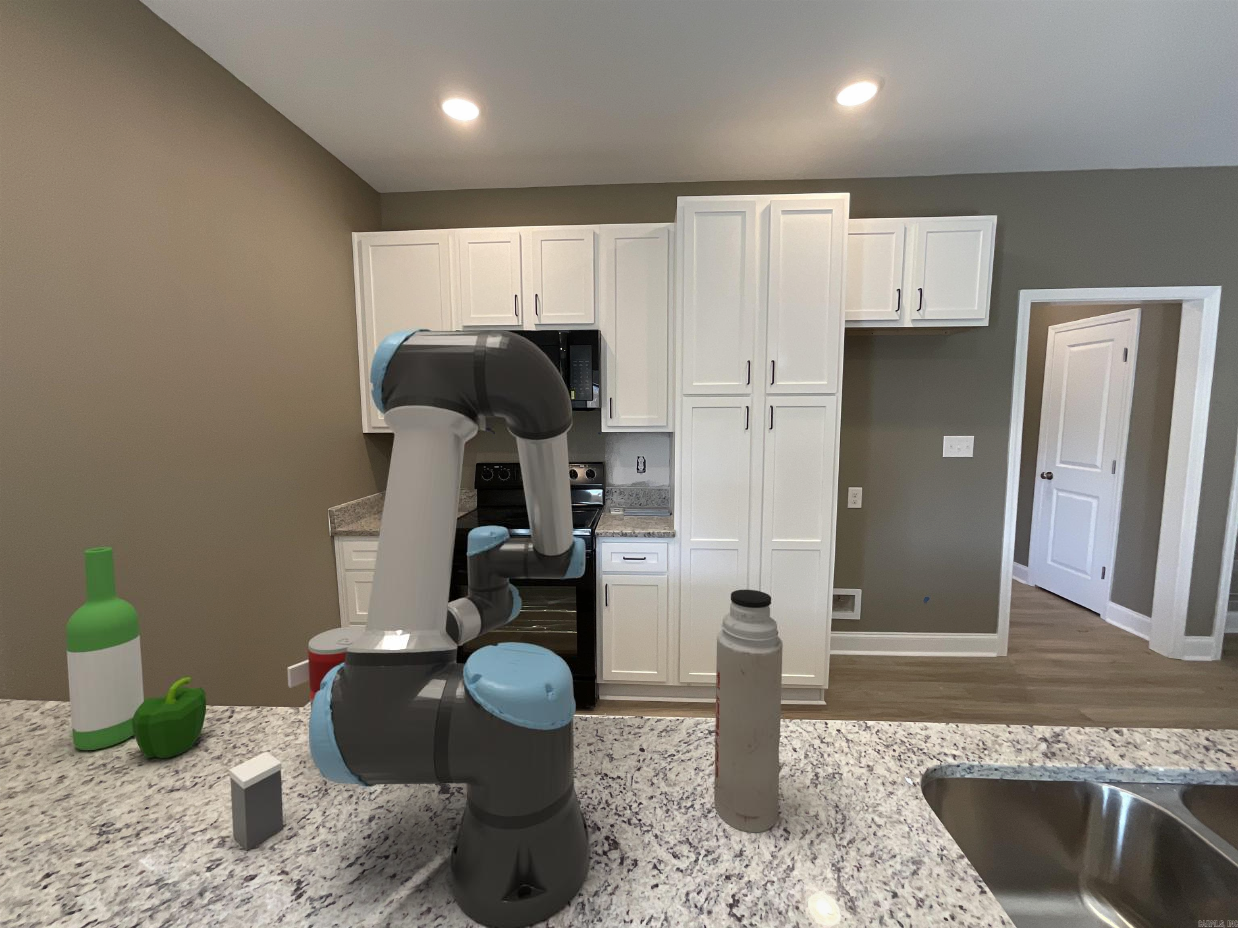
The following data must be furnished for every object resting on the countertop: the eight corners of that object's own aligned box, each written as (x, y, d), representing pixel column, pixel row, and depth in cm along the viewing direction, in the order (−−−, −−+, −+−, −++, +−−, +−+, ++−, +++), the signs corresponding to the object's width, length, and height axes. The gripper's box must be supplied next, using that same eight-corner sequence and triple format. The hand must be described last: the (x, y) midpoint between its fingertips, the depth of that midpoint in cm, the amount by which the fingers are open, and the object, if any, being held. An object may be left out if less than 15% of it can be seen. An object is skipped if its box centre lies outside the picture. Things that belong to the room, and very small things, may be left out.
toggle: (284, 828, 56) (281, 762, 56) (246, 851, 53) (243, 781, 53) (269, 815, 58) (266, 751, 58) (232, 836, 55) (229, 769, 55)
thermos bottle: (706, 818, 60) (710, 598, 58) (722, 777, 67) (726, 580, 65) (773, 842, 56) (778, 609, 55) (782, 796, 64) (787, 589, 62)
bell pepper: (144, 775, 67) (140, 706, 66) (126, 754, 71) (122, 689, 71) (219, 742, 74) (215, 680, 73) (198, 725, 78) (195, 666, 78)
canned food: (347, 732, 64) (344, 652, 63) (296, 724, 66) (293, 646, 65) (386, 700, 71) (383, 628, 71) (339, 694, 73) (337, 623, 72)
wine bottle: (136, 717, 81) (125, 541, 79) (152, 732, 77) (142, 547, 75) (66, 742, 74) (53, 550, 72) (81, 760, 70) (67, 557, 68)
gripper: (489, 663, 78) (349, 740, 59) (410, 634, 89) (269, 690, 70) (488, 618, 77) (347, 681, 58) (408, 594, 88) (267, 640, 69)
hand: (305, 686), depth 64 cm, fingers closed on canned food, 8 cm apart
